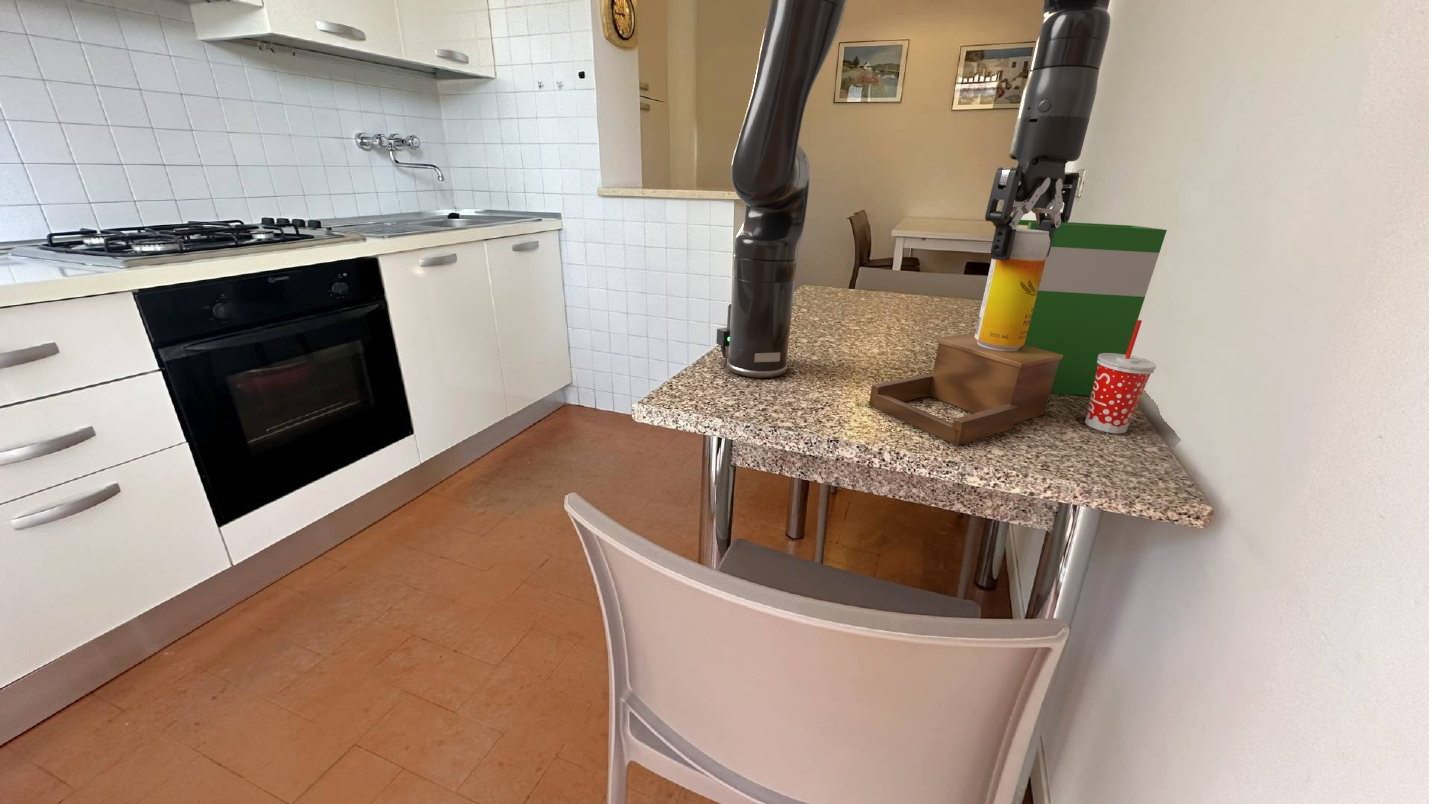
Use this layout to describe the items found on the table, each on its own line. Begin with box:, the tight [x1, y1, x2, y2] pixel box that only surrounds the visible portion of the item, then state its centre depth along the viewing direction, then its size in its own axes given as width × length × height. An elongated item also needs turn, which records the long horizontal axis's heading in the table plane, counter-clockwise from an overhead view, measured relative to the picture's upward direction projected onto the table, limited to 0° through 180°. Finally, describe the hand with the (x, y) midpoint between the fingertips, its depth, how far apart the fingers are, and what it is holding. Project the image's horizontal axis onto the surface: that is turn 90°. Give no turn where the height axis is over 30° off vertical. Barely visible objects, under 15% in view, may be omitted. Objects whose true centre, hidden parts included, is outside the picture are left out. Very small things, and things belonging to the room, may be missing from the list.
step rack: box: [868, 332, 1063, 447], centre depth 75 cm, size 14×20×8 cm
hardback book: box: [1015, 219, 1168, 397], centre depth 85 cm, size 18×7×24 cm, turn 86°
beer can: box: [974, 228, 1050, 351], centre depth 74 cm, size 6×6×15 cm
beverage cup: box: [1084, 319, 1157, 434], centre depth 72 cm, size 6×6×14 cm
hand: (1019, 258), depth 72 cm, fingers open, 8 cm apart
